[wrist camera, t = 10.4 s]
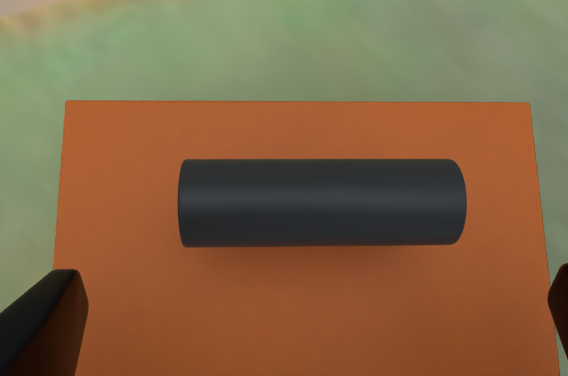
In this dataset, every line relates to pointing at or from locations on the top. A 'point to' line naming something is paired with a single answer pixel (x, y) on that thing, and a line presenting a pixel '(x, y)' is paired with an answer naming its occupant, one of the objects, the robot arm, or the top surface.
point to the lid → (306, 238)
